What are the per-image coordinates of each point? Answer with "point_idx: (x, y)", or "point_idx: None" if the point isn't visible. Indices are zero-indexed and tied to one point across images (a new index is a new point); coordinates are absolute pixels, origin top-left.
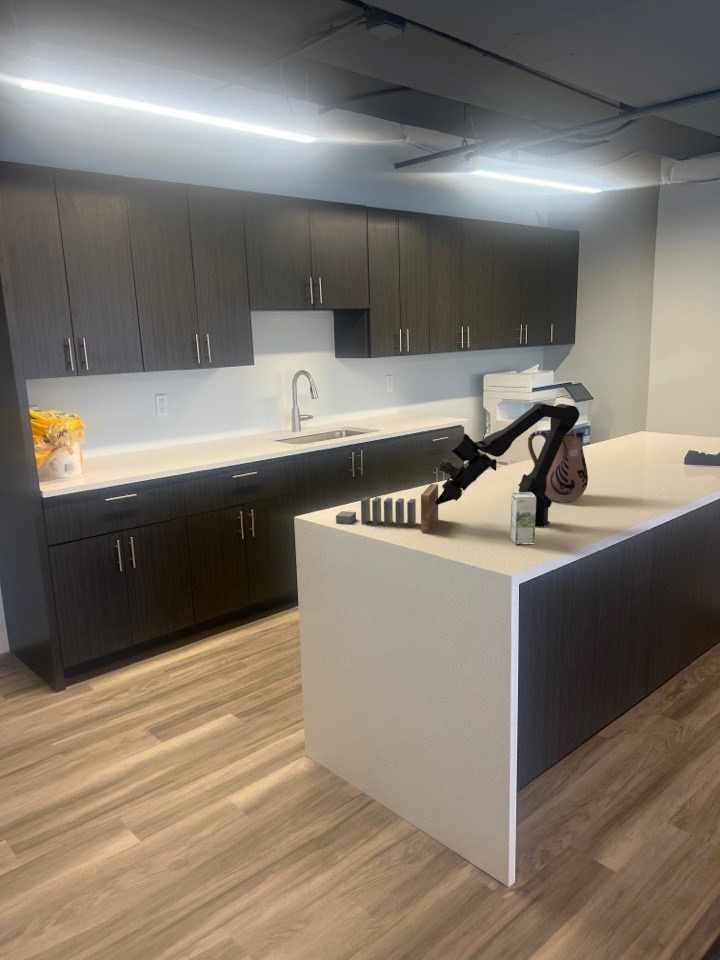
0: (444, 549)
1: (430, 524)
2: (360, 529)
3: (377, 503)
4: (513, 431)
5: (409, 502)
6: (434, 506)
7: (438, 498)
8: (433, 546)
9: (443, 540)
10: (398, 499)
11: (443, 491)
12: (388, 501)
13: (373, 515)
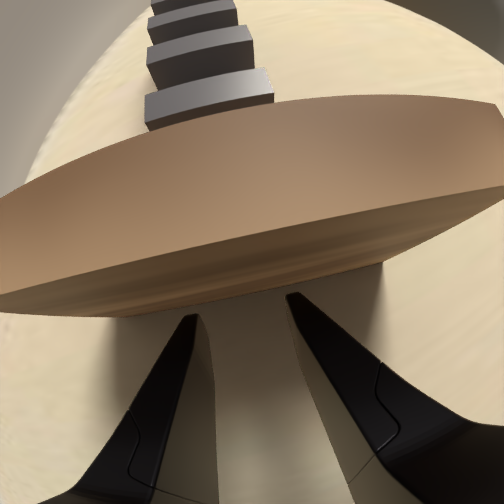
0: (13, 416)
1: (152, 309)
2: (117, 73)
3: (162, 11)
4: None
5: (150, 104)
6: (287, 272)
7: (157, 366)
8: (15, 379)
9: (70, 404)
10: (214, 31)
11: (87, 476)
12: (151, 26)
13: None
